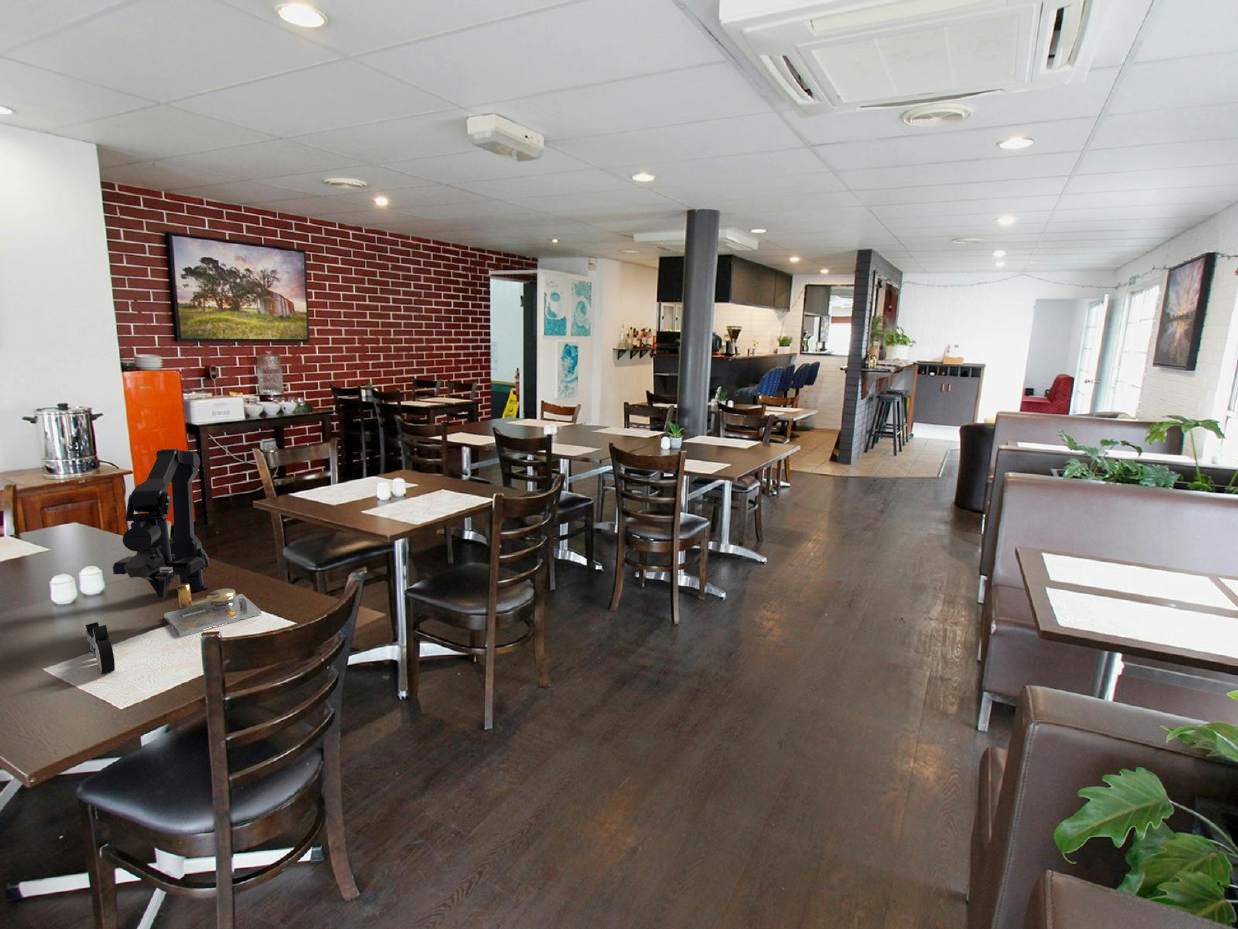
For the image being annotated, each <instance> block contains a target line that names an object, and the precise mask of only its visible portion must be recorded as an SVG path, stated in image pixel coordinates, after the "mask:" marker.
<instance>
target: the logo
mask: <svg viewBox="0 0 1238 929" xmlns="http://www.w3.org/2000/svg"><path fill="white" fill-rule="evenodd" d="M85 629H86V631H85V635H86V639H87V642H88V643H89V645H88V646H89V650H90V651H91V652H92V654H93V655H94V656H95V658H96V662H97V666H98V668H99V671H100V673H101V674H105V673H108V672H112V671H115V670H116V668H115V667H116V663H115V656H114V651H113V650H114V649H113V645H112V642H111V640H110V636H109V631H108V627H107V625H106V624H104V625H103V624H102V625H99V621H97V622H96V621H95V622H92V623H88V624H85Z"/></svg>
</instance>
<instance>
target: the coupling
mask: <svg viewBox="0 0 1238 929" xmlns="http://www.w3.org/2000/svg"><path fill="white" fill-rule="evenodd" d="M176 587H177V589H178V590H177V589H176V590H177V594H178V604H179V608H181V609H184V608H188V607H192V606H196V605H200V604H204V603H208V602H212V603H217V602H224V601H228V600H230V599H233V598H234V597H235V596H236V595H237V594H236V590H235V589H233V588H221V589H215V590H213V591H210V592H208V593H207V594H206V596H205V597H201V598H196V599H192V592H190V584H187V583H186V584H180V585H179V584H178V585H177V586H176Z"/></svg>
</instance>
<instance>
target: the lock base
mask: <svg viewBox="0 0 1238 929" xmlns="http://www.w3.org/2000/svg"><path fill="white" fill-rule="evenodd" d="M259 614H261V615H262V609H260V608H259V607H258V606H257V605H255V604H254V603H253V602H252V601H251V600H250V599H249V598H247V597H246V595H244V594H243V593H240V594H236V596H235V597H234V598H233V599H230V600H228V601H224V602H217V603H212V602H205V603H201V604H197V605H193V606H190V607H186V608H181V609H177V610H173V611H169V612H165V613H163V615H164V619H165V621H167V623H168V624H169V626H171V628H172V627H173V628H172V629H173V630H174V631H175V633H176V634H177V636H179V638H182V636H183V637H186V635H187V636H190V635H193V633H194V634H197V633H200V631H201V632H203V631H206V630H203V629H206V628H209V627H213V626H219V625H222V624H226V623H230V624H233V623H236V622H235V621H237V620H240V619H244V620H247V619H246V618H248V617H251V616H255V617H257V616H256V615H258V616H260V615H259ZM251 618H252V617H251ZM248 619H249V618H248ZM240 621H241V620H240ZM232 622H233V623H232ZM237 622H238V621H237ZM226 625H227V624H226ZM222 626H223V625H222ZM219 627H220V626H219ZM191 633H192V634H191ZM189 634H190V635H189Z"/></svg>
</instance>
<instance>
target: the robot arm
mask: <svg viewBox="0 0 1238 929" xmlns="http://www.w3.org/2000/svg"><path fill="white" fill-rule="evenodd" d="M200 464H201V459H200V455H199V454H198V453H196V452H195V451H194V450H182V449H178V448H161V449H159V450H157V451H156V458H155V460H154V462H153V465H152V467H151V469H150V471H149V473H148V475H147V478H146V480H145V481H143V482H141V483H139V484H137V485H136V486H135V488H134V489H133V491H131V493H130V494H129V495H128V500H127V508H126V514H125V522H130V528H129V529H128V530H126V531H125V533H124V534H123V536H122V540H121V541H122V544H123V545H124V547H125V548H126V549H127V550H129V551H132V552H136V554H135V555H132V556H131V555H129V556H126V557H124V558H121V559H120V560H117V561H115V562H114V563H113V566H112V572H113V575H126V574H127V576H128V577H129V578H131V579H133V578H142V579H145V580H146V581H148V583H149V585H151V586H152V588H153V590H154V591H155V593H156V595H157V596H158V598H159V599H164V598H166V597H167V594H168V591H169V590H170V587H171V584H172V581H173V579H174V578H175V575H177V577H178V578H177V579H178V585H180V584H186V583H187V584H190V592H191V593H195V592H199V591H203V590H207V589H209V586H207V584H206V583H204V577H203V570H205V569H207V568H209V567H210V560H209V559H210V558H209V555H208V554H207V553H206V551H205V549H204V548H203V546H202V541H201V540H200V539H199V538H198V537H197V535H196V534H195V525H194V524H195V523H194V522H195V520H194V503H193V481H194V480H195V478H196V477H197V475H198V473H199V467H200ZM170 484H171V493H172V494H171V495H172V496H171V495H170V493H169V491H168V489H169V487H170ZM171 504H172V505H171ZM171 506H172V517H173V537H172V538H170V536H169V535H170V534H169V528H168V520H167V515H169V514H170V509H171ZM175 590H177V591H178V589H177V586H176V587H175Z"/></svg>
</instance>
